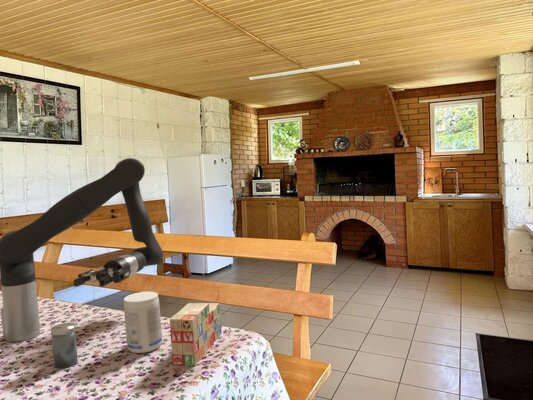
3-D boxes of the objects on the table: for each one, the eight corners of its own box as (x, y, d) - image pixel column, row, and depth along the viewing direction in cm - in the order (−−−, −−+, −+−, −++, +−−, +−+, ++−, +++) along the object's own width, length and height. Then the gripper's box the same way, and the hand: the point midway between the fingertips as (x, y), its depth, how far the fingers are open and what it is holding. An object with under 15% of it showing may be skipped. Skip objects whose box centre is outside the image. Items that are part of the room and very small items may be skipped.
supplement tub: (159, 337, 118) (155, 289, 117) (165, 349, 109) (162, 297, 108) (125, 344, 114) (121, 294, 113) (129, 357, 105) (125, 303, 104)
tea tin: (48, 368, 101) (45, 330, 101) (64, 358, 107) (61, 322, 106) (67, 369, 100) (64, 331, 99) (82, 359, 105) (80, 322, 105)
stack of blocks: (202, 332, 120) (200, 292, 120) (222, 333, 119) (219, 293, 118) (172, 366, 99) (169, 318, 99) (195, 367, 98) (192, 319, 97)
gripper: (101, 257, 130) (64, 270, 114) (139, 256, 126) (107, 270, 111) (103, 279, 130) (68, 296, 115) (141, 279, 127) (110, 296, 111)
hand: (87, 283), depth 113 cm, fingers open, 8 cm apart
